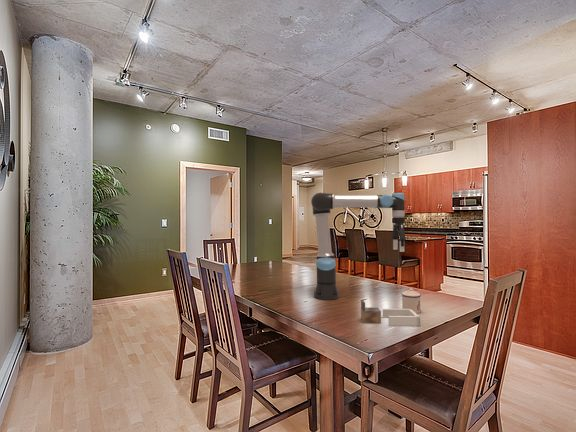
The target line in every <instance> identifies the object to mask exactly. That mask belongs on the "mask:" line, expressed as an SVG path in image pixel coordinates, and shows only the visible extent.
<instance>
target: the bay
mask: <svg viewBox="0 0 576 432" xmlns="http://www.w3.org/2000/svg"><path fill="white" fill-rule="evenodd" d="M382 318H384V319H387V318H388V326H390V327H396V326H397V327H421V316H420V315H419V314H418V313H417V314H416V313H415V312H414V311H413V310H412V309H402V308H382Z"/></svg>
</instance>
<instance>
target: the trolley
mask: <svg viewBox="0 0 576 432" xmlns="http://www.w3.org/2000/svg"><path fill="white" fill-rule="evenodd" d="M360 320H361V322H362V323H363V324H382V311H381V309H380V308H379V307H366V302H365V301H364V299H361V300H360Z"/></svg>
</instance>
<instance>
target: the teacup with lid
mask: <svg viewBox="0 0 576 432" xmlns="http://www.w3.org/2000/svg"><path fill="white" fill-rule="evenodd" d="M401 297H402V298H401V301H402V302H401V304H402V305H401V309H412V310H413V311H414V312H415V313H416V314H417V315H418V314H420V313H421V293H420V292H417V291H415V290H414V289H413V288H411V287H409V289H408V290H406V291H402V292H401Z"/></svg>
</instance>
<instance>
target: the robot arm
mask: <svg viewBox="0 0 576 432" xmlns="http://www.w3.org/2000/svg"><path fill="white" fill-rule="evenodd" d="M310 204H311V207H312V215H313V216H314V217H315V225H316V226H315V228H316V239H317V247H318V249H317V251H318V253H317V255H316V265H315V266H316V286H315V289H314V293H313V297H314V299H317V300H321V299H322V300H323V301H332V300H337V299H339V298H340V293H339V292H340V291H339V290H338V287H337V281H336V280H337V278H336V277H337V270H336V268H337V267H336V266H337V263H336V259H335V253H333V250H332V242H331V241H332V240H331V230H330V229H331V228H330V218H329V217H330V215H331V210H334V209H336V208H373V209H391V216H392V219H391V221H392V224H393V225H392V226H393V227H392V235H391V238H392V250H397V251H398V248H399V253H400V252H401V253H405V241H406V234H405V233H406V232H405V225H404V224H405V223H406V221H405V220H406V218H405V215H406V210H405V193H404V192H393V193H392V194H391V195H390V194H339V195H338V194H334V193H327V192H317V193H315V194H314V195H312V197H311V200H310ZM398 244H399V245H398ZM398 246H399V247H398Z"/></svg>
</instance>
